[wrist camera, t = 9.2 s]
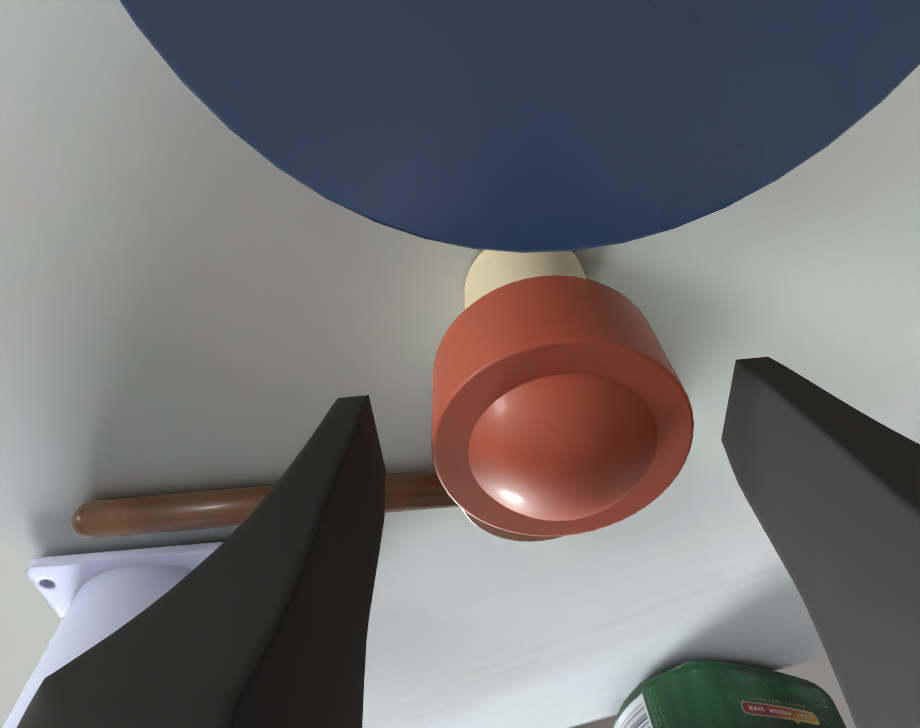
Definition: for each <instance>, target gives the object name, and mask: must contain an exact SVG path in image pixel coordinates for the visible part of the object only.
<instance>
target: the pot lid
mask: <svg viewBox="0 0 920 728" xmlns="http://www.w3.org/2000/svg"><path fill="white" fill-rule="evenodd" d="M120 2H121V3H122V5H123V6H124V8H125V9H126V11H127V12H128V14H129V15H130V17H131V18H132V20H133V21H134V23H135V24H136V26H137V27H138V28H139V29H140V31H141V32H142V33H143V34H144V36H145V37H146V38H147V39H148V40H149V42H150V43H151V44H152V45H153V47H154V48H155V49H156V50H157V51H158V53H159V54H160V55H161V56H162V58H163V59H164V60H165V61H166V62H167V64H168V65H169V66H170V67H171V69H172V70H173V71H174V72H175V74H176V75H177V76H178V77H179V78H180V80H181V81H182V82H183V83H184V84H185V85H186V86H187V87H188V88H189V89H190V90H191V91H192V92H193V93H194V94H195V95H196V96H197V97H198V98H199V99H200V100H201V101H202V102H203V103H204V104H205V105H206V106H207V107H208V108H209V109H210V110H211V111H212V112H213V113H214V114H215V115H216V116H217V117H218V118H219V119H220V120H221V121H222V122H223V123H224V124H225V125H226V126H227V127H228V128H229V129H230V130H231V131H232V132H234V133H235V134H236V135H237V136H239V137H240V138H241V139H242V140H244V141H245V142H246V143H247V144H249V145H250V146H251V147H252V148H254V149H255V150H256V151H257V152H259V153H260V154H261V155H262V156H264V157H265V158H266V159H267V160H269V161H270V162H271V163H272V164H274V165H275V166H276V167H277V168H279V169H280V170H282V171H283V172H285V173H287V174H288V175H290V176H291V177H293V178H295V179H296V180H298V181H299V182H301V183H302V184H304V185H306V186H307V187H309V188H310V189H312V190H313V191H315V192H317V193H318V194H320V195H321V196H323V197H325V198H326V199H328V200H330V201H332V202H334V203H337V204H339V205H341V206H343V207H345V208H347V209H349V210H351V211H353V212H355V213H357V214H359V215H362V216H364V217H366V218H368V219H370V220H372V221H374V222H377V223H380V224H382V225H385V226H388V227H391V228H394V229H397V230H400V231H403V232H406V233H409V234H412V235H415V236H418V237H421V238H424V239H428V240H433V241H438V242H443V243H448V244H453V245H457V246H462V247H467V248H472V249H481V250H493V251H506V252H518V253H534V252H559V251H576V250H582V249H588V248H594V247H601V246H607V245H613V244H619V243H625V242H628V241H632V240H635V239H639V238H642V237H646V236H649V235H653V234H656V233H660V232H664V231H667V230H671V229H674V228H677V227H679V226H681V225H684V224H686V223H689V222H691V221H694V220H696V219H699V218H701V217H704V216H706V215H709V214H711V213H713V212H716V211H718V210H721V209H723V208H726V207H727V206H729V205H731V204H733V203H735V202H737V201H739V200H741V199H742V198H744V197H746V196H748V195H750V194H752V193H754V192H756V191H757V190H759V189H761V188H763V187H765V186H767V185H769V184H770V183H772V182H774V181H776V180H778V179H779V178H781V177H782V176H784V175H785V174H787V173H788V172H790V171H791V170H793V169H794V168H796V167H797V166H799V165H800V164H801V163H803V162H804V161H806V160H807V159H809V158H810V157H812V156H813V155H815V154H816V153H818V152H819V151H821V150H822V149H824V148H825V147H827V146H828V145H829V144H831V143H832V142H833V141H834V140H836V139H837V138H838V137H839V136H840V135H842V134H843V133H844V132H845V131H847V130H848V129H849V128H850V127H851V126H853V125H854V124H855V123H856V122H858V121H859V120H860V119H861V118H862V117H864V116H865V115H866V114H867V113H869V112H870V111H871V110H872V109H873V108H875V107H876V106H877V105H878V104H880V103H881V102H882V101H883V100H884V99H885V98H886V97H887V96H888V95H889V94H890V93H891V92H892V91H893V90H894V89H895V88H896V87H897V86H898V85H899V84H900V83H901V82H902V81H903V80H904V79H905V78H906V77H907V76H908V75H909V74H910V73H911V72H912V71H913V70H914V69H915V68H916V67H917V66H918V65H919V64H920V0H120Z"/></svg>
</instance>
